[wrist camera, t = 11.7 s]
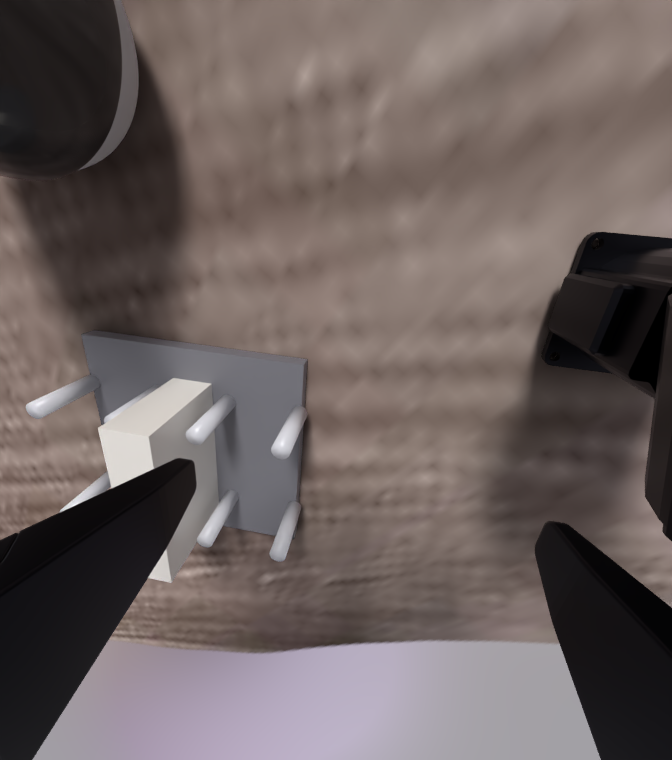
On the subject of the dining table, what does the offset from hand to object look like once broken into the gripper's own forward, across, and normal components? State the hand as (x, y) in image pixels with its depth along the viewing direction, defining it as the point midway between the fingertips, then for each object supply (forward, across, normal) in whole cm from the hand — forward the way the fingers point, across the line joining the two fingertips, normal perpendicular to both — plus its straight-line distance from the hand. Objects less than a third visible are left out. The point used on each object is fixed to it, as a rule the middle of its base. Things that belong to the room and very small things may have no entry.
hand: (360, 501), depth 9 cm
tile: (+11, +11, +8) cm, 17 cm away
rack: (+12, +11, +8) cm, 18 cm away
